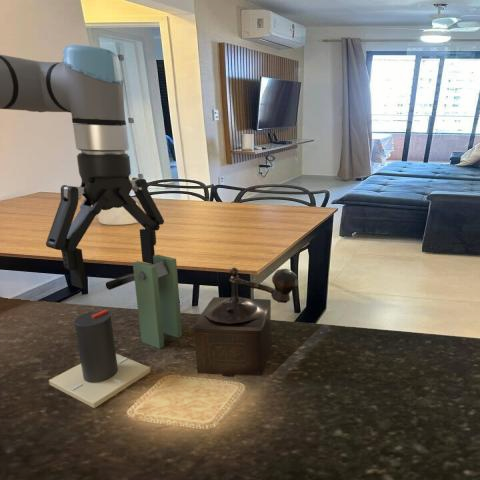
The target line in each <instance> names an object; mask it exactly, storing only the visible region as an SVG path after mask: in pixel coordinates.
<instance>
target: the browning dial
mask: <svg viewBox="0 0 480 480" xmlns="http://www.w3.org/2000/svg"><path fill="white" fill-rule="evenodd" d="M73 323H74V329H75V335H76V341H77V347H78V355H79V360H80V364H81V366H82V372H83V378H84V380H85V381H87V382H90V383H96V382H102V381H105V380H107V379H109V378H111V377H113V376H114V375H115V374H116V373H117V371H118V367H117V359H116V354H117V353H116V346H115V338H114V333H113V332H114V331H113V324H112V318H111V313H110V312H109V311H108V309H103V310H96V311H95V310H94V311H90V312H85V313H83V314H81V315H79V316H78V317H77V316H76V318H75V319H74V320H73Z"/></svg>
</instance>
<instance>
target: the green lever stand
mask: <svg viewBox="0 0 480 480" xmlns="http://www.w3.org/2000/svg"><path fill="white" fill-rule="evenodd" d="M161 261H164V263H165V266H166V268H167V271H168V274H167V275H165V276H162V277H160V278H158V276H157V266H155V265H151V264H149V263H145V262H142V261H139V260H137V261H134V262H133V261H132V270H133V274H134V279H135V281H134V287H135V295H136V303H137V304H136V305H137V312H138V321H139V332H140V341H141V343H143V344H146V345H148V346H151V347H154V348H156V349H158V350H161V349H162V348H164V347H165V340H164V339H165V338H164V334H165V335H169V336H171V337H174V338H178V339H179V338H180V337H182V336H183V328H182V314H181V304H180V303H181V302H180V290H179V279H178V278H179V277H178V266H177V258H175V257H171V256H167V255H161V254H158V253H157V254H155V255H154V256H153V262H154V263H157V262H161Z"/></svg>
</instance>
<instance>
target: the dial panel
mask: <svg viewBox="0 0 480 480" xmlns="http://www.w3.org/2000/svg"><path fill="white" fill-rule="evenodd" d="M116 359H117V367H118V371H117V373H116V374H115V375H114V376H113V377H111V378H109V379H107V380H105V381H102V382H96V383H90V382H87V381H85V380H84V378H83V372H82V366H81V363H78V364H77V365H75V366H73V367H71V368H69V369H67V370H66V371H64V372H62V373H60V374H58V375H56V376H54V377H52V378H50V379H48V384H49V386H51V387H53V388H55V389H57V390H59V391H61V392H63V393H64V394H66V395H68V396H70V397H72V398H74V399H76V400H78V401H79V402H82V403H83V404H86V405H87V406H89V407H91V408H93V409H96V408H97V407H98V406H100V405H101V404H103V403H105V402H106V401H108V400H109V399H111V398H112V397H114V396H116V395H117V394H119V393H120V392H122V391H124V390H125V389H126V388H128V387H130V386H131V385H132V384H134V383H136V382H137V381H139V380H140V379H142V378H143V377H145V376H146V375H148V374H150V373H151V371H152V370H151V367H150V366H148V365H145V364H143V363H140V362H138V361H136V360H133V359H131V358H128V357H126V356H123V355H121V354H118V353H116Z"/></svg>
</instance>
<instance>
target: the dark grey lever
mask: <svg viewBox="0 0 480 480" xmlns="http://www.w3.org/2000/svg"><path fill="white" fill-rule="evenodd" d="M151 265H155V266H157V276H158V278H160V277H162V276H165V275H167V274H168V271H167V268H166V266H165V263H164V261H161V262H157V263H154V264H151ZM132 282H135V279H134V272H131V273H127V274H125V275H122V276H119V277H117V278H114V279H112V280H108V281H106V282H105V288H106V289H107V290H108V291H111V290H113V289H116V288H119V287H121V286H124V285H126V284H130V283H132Z"/></svg>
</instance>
